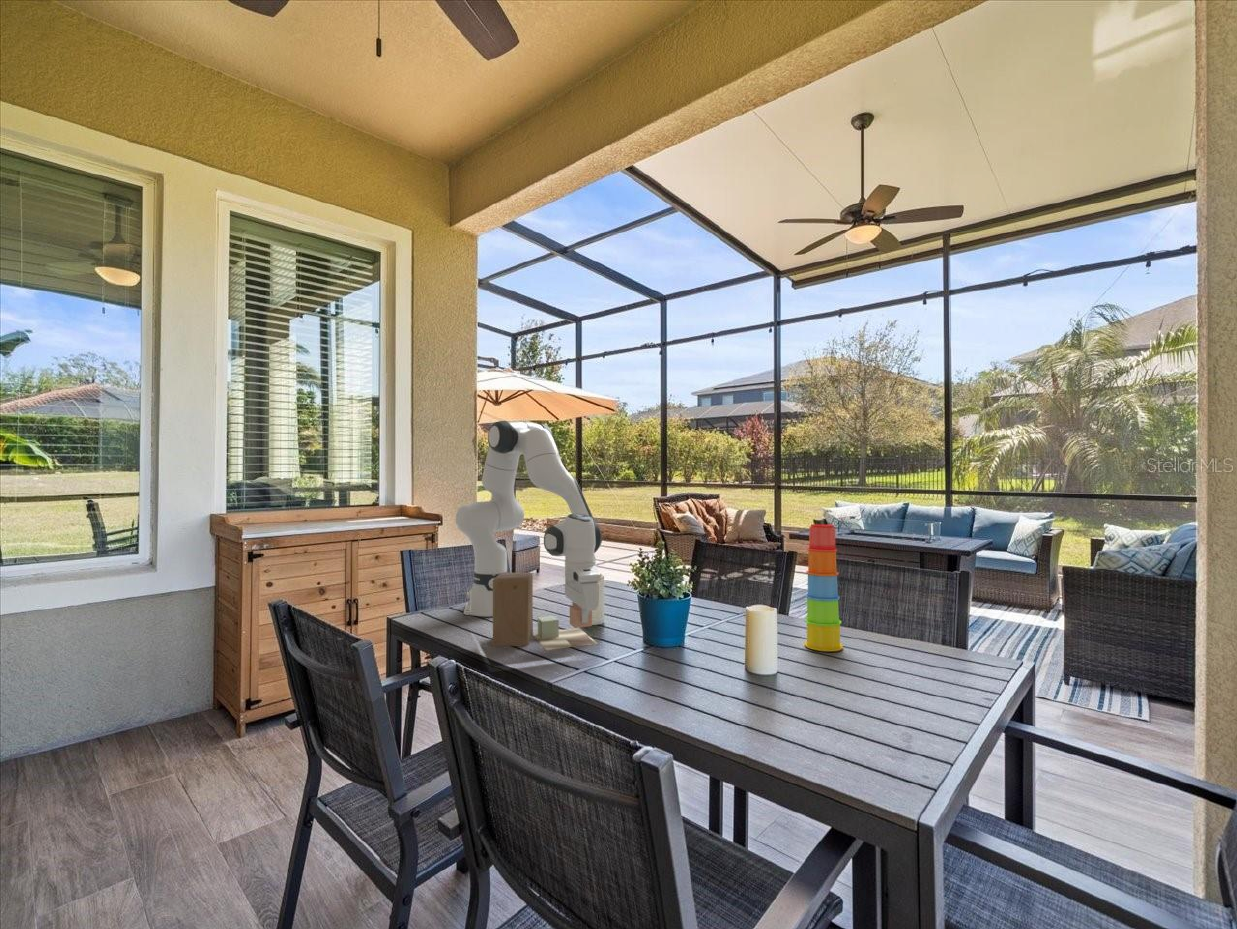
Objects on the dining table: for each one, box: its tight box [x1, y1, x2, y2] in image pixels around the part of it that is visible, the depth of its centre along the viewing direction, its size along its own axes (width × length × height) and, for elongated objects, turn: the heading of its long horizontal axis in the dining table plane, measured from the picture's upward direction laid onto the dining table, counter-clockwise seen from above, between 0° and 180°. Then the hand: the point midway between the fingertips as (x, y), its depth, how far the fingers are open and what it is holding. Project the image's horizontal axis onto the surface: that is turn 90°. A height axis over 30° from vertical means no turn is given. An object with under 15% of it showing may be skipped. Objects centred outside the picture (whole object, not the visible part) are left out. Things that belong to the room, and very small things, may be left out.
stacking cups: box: [804, 523, 844, 653], centre depth 165 cm, size 10×10×35 cm
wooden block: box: [492, 572, 534, 647], centre depth 168 cm, size 10×10×20 cm
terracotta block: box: [569, 605, 593, 629], centre depth 167 cm, size 5×5×5 cm
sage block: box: [537, 615, 560, 639], centre depth 173 cm, size 5×5×5 cm
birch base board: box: [533, 627, 599, 651], centre depth 170 cm, size 17×15×1 cm
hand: (580, 619), depth 167 cm, fingers closed on terracotta block, 5 cm apart
